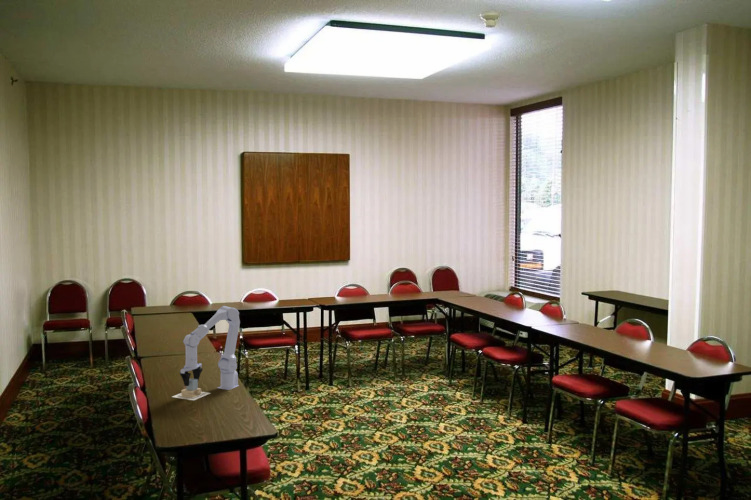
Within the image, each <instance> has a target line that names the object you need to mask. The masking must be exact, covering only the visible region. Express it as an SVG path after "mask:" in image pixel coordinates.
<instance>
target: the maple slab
mask: <svg viewBox="0 0 751 500" xmlns="http://www.w3.org/2000/svg"><path fill="white" fill-rule="evenodd" d="M201 392H202V388H200V387H198V389H196V390H194V391H191V390H186V389H183V388H182V389H181V391H180V393H181V396H185V397H192V398H193V397H195V396H198V395H200V394H201Z"/></svg>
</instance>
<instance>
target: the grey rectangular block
mask: <svg viewBox="0 0 751 500" xmlns="http://www.w3.org/2000/svg"><path fill="white" fill-rule="evenodd" d="M198 385H199V381H198V379H194V378H191V377H190V379H189V386H186V390H191V391H194V390H196V389H198V388H199V387H198Z"/></svg>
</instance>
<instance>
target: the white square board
mask: <svg viewBox="0 0 751 500" xmlns="http://www.w3.org/2000/svg"><path fill="white" fill-rule="evenodd" d="M210 394H211V392H207V391H201V394H200V395H198V396H195V397H193V398H192V397H185V396H181V392H180V393H177V394H175V395H173V396H171V398H177V399H180V400H181V399H182V400H188V401H196V400H198V399H201V398H202V397H205V396H207V395H210Z"/></svg>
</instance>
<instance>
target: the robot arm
mask: <svg viewBox="0 0 751 500" xmlns="http://www.w3.org/2000/svg"><path fill="white" fill-rule="evenodd" d="M221 321H226V322H227V323H228V328H227V335H226V341H225V346H224V353H222V354H221V355H220V359H219V360H218V362H217V366H218V368H219V369H220V370H219V371H220V386H218V387H217V389H221V390H228V391H230V390H232V389H235V388H237V387H239V386H240V385H239V374H238V371H236V370H237V368H238V363H237V357H236V355H235V354H236V353H235V352H236V347H237V341H238V336H239V330H240V324H241V320H240V312H239V310H238V309H237V308H236V307H230V306H227V305H222V306H221V307H219V309H217V311H216V312H215V313H214V315H212V317H211V318H210V319H208V320H207V321H206V322H205V323H204V324H198V326H197V328H195V329H194V330H193V331H191V332H190V334H186V335H185V336H184V339H182V341H183V342H182V343H183V344H184V346H185V347H184V348H185V365H183V368H181V369H180V372H179V375H180V377H181V379H182V381H183V385H185V386H189V379H191V375H193V379H198V382H199V380H200V377H201V375H202V374H201V373H202V372H203V368H202V367H203V366H202V365H203V364H202V363H201V362H200V363H198V346H199V344H200V341H201V340H202V339H203V338H204V337H205V336H206V335H208V334H209V332H210V331H209V330H210V329H211V328H212V327H214V326H215V325H216V324H218V323H219V322H221ZM191 371H192V373H191Z"/></svg>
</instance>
